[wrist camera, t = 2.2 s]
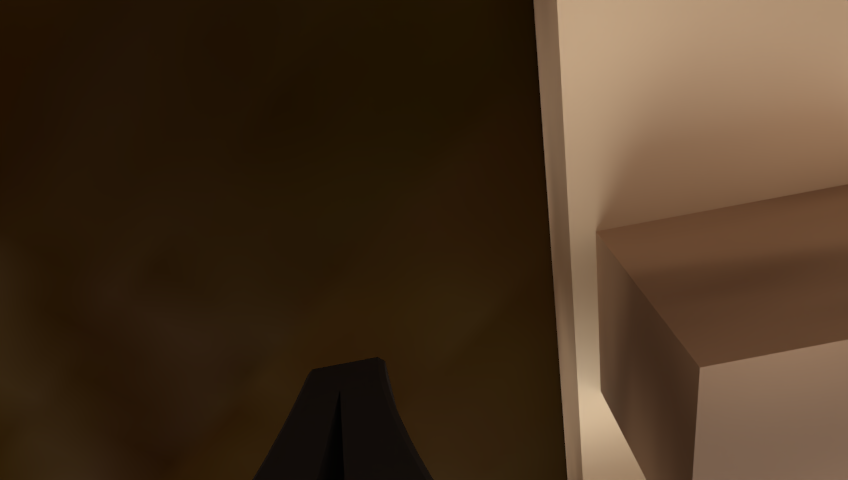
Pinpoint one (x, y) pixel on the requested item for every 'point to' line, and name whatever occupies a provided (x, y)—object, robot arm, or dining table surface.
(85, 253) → the dining table surface
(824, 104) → the trap track
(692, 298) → the walnut block
